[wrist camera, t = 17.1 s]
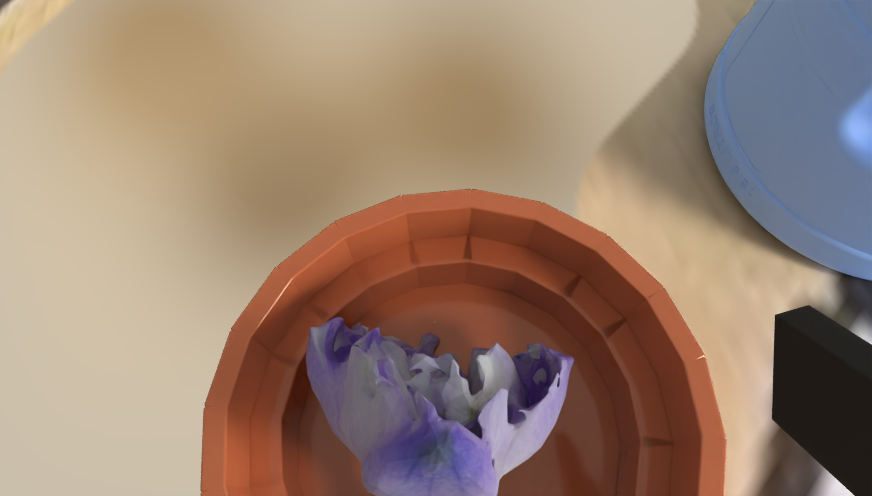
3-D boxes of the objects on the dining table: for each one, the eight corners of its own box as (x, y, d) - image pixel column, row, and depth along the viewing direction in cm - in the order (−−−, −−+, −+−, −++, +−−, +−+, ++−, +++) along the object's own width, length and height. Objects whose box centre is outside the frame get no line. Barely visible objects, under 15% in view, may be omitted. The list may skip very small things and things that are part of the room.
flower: (578, 690, 16) (506, 320, 16) (305, 657, 20) (233, 350, 19) (615, 504, 25) (569, 258, 24) (420, 502, 28) (374, 286, 27)
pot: (252, 702, 22) (188, 771, 17) (256, 267, 28) (210, 211, 23) (709, 651, 23) (795, 702, 17) (617, 233, 29) (658, 170, 23)
